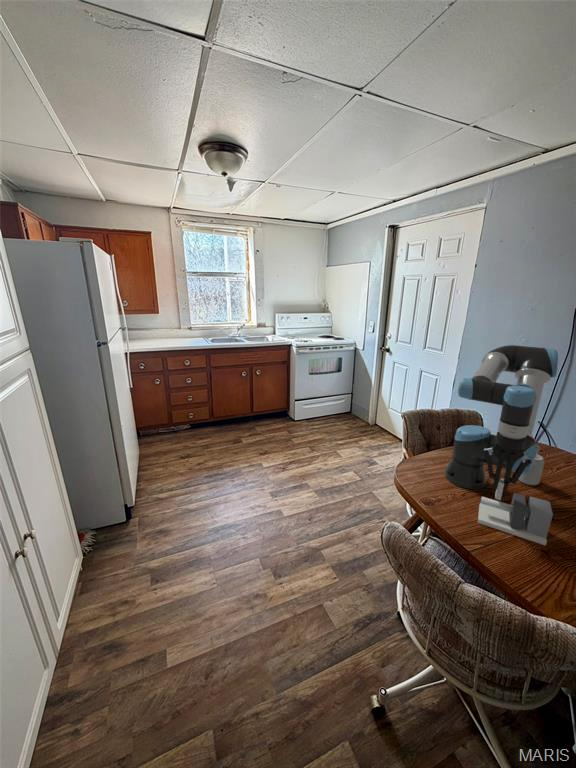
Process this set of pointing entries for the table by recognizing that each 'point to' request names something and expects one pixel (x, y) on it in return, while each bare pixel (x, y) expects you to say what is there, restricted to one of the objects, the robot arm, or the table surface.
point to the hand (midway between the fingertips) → (497, 497)
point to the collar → (518, 511)
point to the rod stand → (534, 520)
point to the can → (533, 472)
